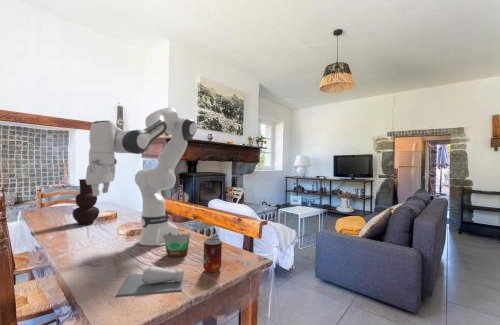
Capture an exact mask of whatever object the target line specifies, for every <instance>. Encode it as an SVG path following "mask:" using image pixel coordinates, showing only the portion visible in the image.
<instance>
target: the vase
mask: <svg viewBox="0 0 500 325" xmlns="http://www.w3.org/2000/svg"><path fill="white" fill-rule="evenodd" d="M78 181H79V183H78V184H79V193H78V194H77V195H76V196H75V197H74V198H75V205H76V206H77V207H76V208H74V209H73V210H72V213H71V214H72V219H74V221H75V222H77V224H78V225H79V226H88V225H92V224H94V221H95V220H96V219H97V218H98V217H99V214H100V209H99V207H97V206H95V205H96V204H97V201H98V196H93V190H92V185H87V184H86V178H82V179H78Z"/></svg>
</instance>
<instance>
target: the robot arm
mask: <svg viewBox="0 0 500 325" xmlns="http://www.w3.org/2000/svg"><path fill="white" fill-rule="evenodd" d="M144 122H145V128H144V129H133V130H123V129H121V128H119V127H118V126H116V124H115V123H114V122H113V121H112V120H96V121H94V122H92V123H91V125H90V128H89V129H90V130H89V137H88V139H89V144H90V145H89V146H90V147H89V151H88V165H87V168H86V173H85V175H86V176H85V179H86V184H87V185H92V190H93V196H97V197H98V196H100V193H101V192H102V194H108V193H109V188H110V184H111V183H110V182H114V180H115V175H116V174H115V173H116V165H117V162H118V160H117V159H116V156H115V153H117V154H134V155H139V154H140V155H141V154H143V153H145V151H146V150H147V149H148V148H149V147H150V145H151V143H153V142H154V141H156V140H157V139H158V138H159V137H161V136H162V135H163V134H165V135H169V136H171V138H170V140H169V141H168V142H167V143H166V144H165V146H164V147H163V149H162V150H161V151H160V152H159V154H158V156H157V161H158V164H157V166H156V167H155V168H143V169H140V170H138V171H137V172H136V174H135V176H134V181H135V184H136V185H137V187H138V188H139V191H140V193H141V194H140V195H141V198H142V211H143V212H142V216H141V233H140V238H139V241H138V244H139V245H141V246H149V247H150V246H151V247H153V246H158V247H159V246H166V243H165V239H164V235H165V234H166V235H173V234H180V233H179V228H178V227H177V226H176V225H175V224H173V223H172V222H171V221H169V220H172V217H173V216H172V215H170V214H168V215H167V214H166V200H165V198H164V197H163V195H162V193H161V191H166V190H171V189H173V187H175V184H176V182H177V178H176V174H175V169H176V167H177V165H178V164H179V161H181V159H182V157H183V155H184V154H185V152H186V150H187V147H188V141H190V140H192V138H193V137H194V136H195V135H196V133H197V129H198V127H197V126H198V125H197V123H196V122H195V121H194V120H193V119H191V118H185V117H181V116H179V114H178V112H177V111H176V110H175V109H174V108H172V107H164V108H161V109H158V110H155V111H153V112H151V113H150V114H148V115H147V116H146V117H145V121H144ZM101 184H102V185H103V186H102V190H101V192H100V188H99V187H100V185H101Z"/></svg>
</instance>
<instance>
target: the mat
mask: <svg viewBox="0 0 500 325" xmlns="http://www.w3.org/2000/svg"><path fill="white" fill-rule="evenodd" d="M184 273H185V271H184V270H183V276H182V281H181V282H175V280H173V281H167V282H162V283H156V284H150V285H149V284H146V283H144V282H143V281H142V278H143V273H140V274H139V273H138V274H128V275H127V276H126V277H125V279H124V281H123V283H122V284H121V286H120V287H119V289H118V291H117V293H116V294H115V297H124V296H125V297H127V296H137V295H149V294H150V295H151V294H162V293H170V292H171V293H173V292H182V289H183V281H184Z"/></svg>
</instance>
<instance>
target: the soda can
mask: <svg viewBox="0 0 500 325" xmlns="http://www.w3.org/2000/svg"><path fill="white" fill-rule="evenodd" d="M222 245H223V241H222V240H221V239H220V238H218V237H209V238H206V239H205V240H204V242H203V269H204V272H205V273H206V274H209V275H212V274H213V275H214V274H218V273H219V272H220V269H221V268H222V256H223V255H222V253H223V252H222V249H223V247H222Z"/></svg>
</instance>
